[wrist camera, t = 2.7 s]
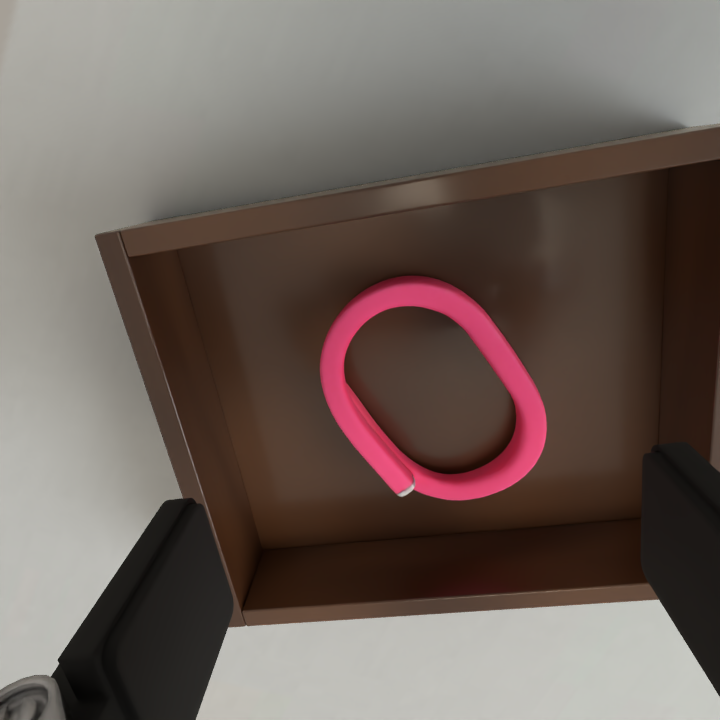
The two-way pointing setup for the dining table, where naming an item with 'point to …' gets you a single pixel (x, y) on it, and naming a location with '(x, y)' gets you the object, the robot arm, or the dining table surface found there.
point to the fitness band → (494, 348)
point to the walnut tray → (435, 374)
